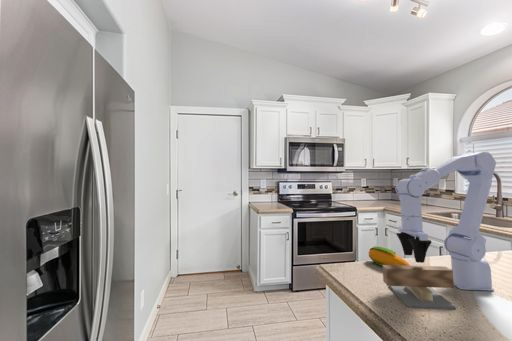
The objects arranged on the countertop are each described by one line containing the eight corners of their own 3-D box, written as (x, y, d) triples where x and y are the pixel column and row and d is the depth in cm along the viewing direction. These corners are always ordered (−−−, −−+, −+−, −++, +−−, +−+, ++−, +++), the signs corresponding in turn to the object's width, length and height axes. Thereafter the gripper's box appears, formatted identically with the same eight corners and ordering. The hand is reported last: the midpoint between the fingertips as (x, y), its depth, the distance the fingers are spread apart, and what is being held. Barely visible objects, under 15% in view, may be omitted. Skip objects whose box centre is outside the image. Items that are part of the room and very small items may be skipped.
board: (428, 287, 81) (427, 285, 81) (455, 309, 67) (455, 306, 67) (388, 286, 83) (388, 283, 83) (407, 306, 69) (407, 303, 69)
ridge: (416, 289, 80) (415, 278, 80) (433, 304, 70) (432, 291, 70) (405, 289, 80) (405, 278, 80) (421, 304, 70) (420, 291, 70)
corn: (377, 242, 112) (416, 253, 93) (378, 259, 112) (419, 274, 93) (363, 244, 110) (401, 257, 91) (365, 262, 110) (403, 278, 90)
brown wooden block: (446, 283, 76) (445, 266, 76) (453, 288, 72) (452, 270, 72) (383, 281, 78) (382, 264, 79) (387, 285, 75) (386, 268, 75)
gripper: (389, 213, 89) (391, 252, 88) (408, 219, 74) (411, 265, 74) (410, 212, 88) (413, 252, 87) (434, 218, 73) (437, 266, 73)
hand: (413, 258), depth 80 cm, fingers open, 7 cm apart
